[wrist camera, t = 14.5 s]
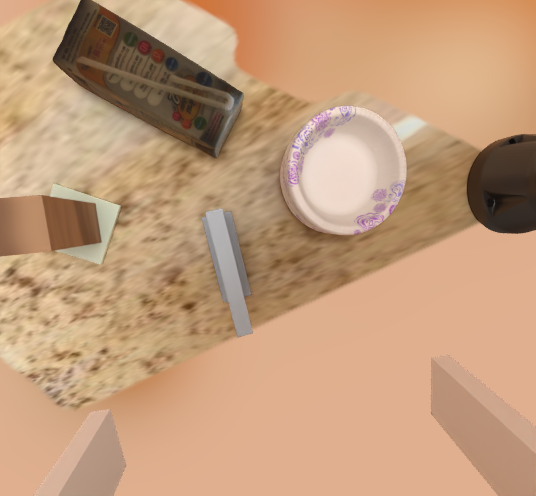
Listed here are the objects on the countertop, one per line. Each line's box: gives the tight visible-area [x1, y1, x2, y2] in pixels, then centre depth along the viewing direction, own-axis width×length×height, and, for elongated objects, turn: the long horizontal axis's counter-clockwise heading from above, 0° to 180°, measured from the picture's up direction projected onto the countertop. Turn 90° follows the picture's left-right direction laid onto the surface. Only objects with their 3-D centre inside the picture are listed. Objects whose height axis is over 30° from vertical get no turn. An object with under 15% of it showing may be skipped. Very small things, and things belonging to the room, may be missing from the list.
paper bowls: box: [280, 106, 407, 235], centre depth 37 cm, size 15×15×8 cm
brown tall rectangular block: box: [0, 195, 102, 256], centre depth 31 cm, size 5×5×11 cm
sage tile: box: [50, 183, 122, 264], centre depth 36 cm, size 8×8×1 cm
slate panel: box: [202, 208, 253, 337], centre depth 33 cm, size 12×4×14 cm, turn 13°
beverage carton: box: [53, 0, 244, 158], centre depth 34 cm, size 8×19×7 cm, turn 63°
